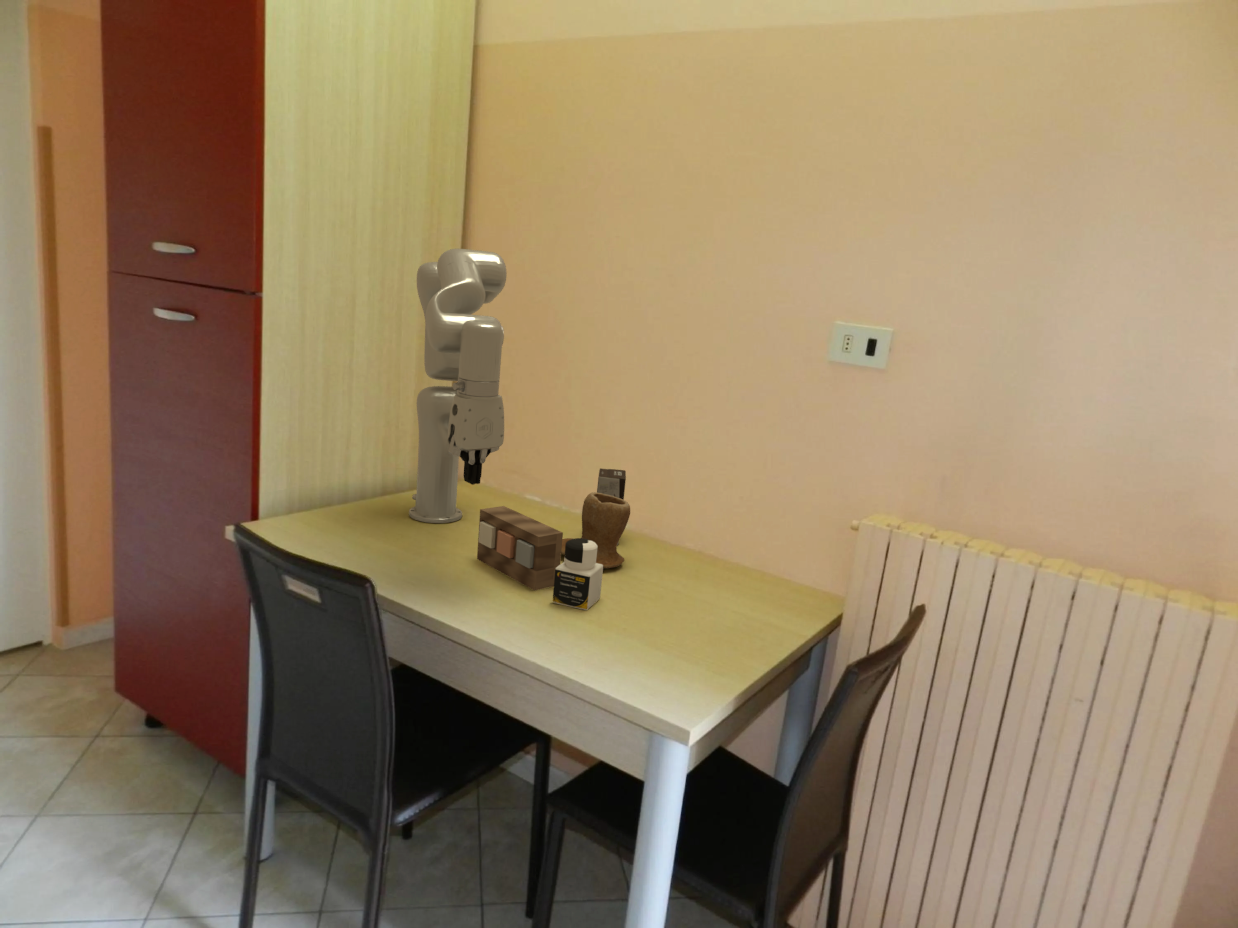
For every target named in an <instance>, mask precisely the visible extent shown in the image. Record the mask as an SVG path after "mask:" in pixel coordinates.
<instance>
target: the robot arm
mask: <svg viewBox="0 0 1238 928" xmlns="http://www.w3.org/2000/svg"><path fill="white" fill-rule="evenodd" d="M507 273H508V271H507V266H506V263H505V261H504V259H503V257H502V256H501V255H500V254H499V253H497V252H494V251H487V250H486V251H485V250H479V249H478V250H477V249H468V248H466V249H465V248H451V249H447V250H446V251H443V253H441V255H440V256H439V258H438V260H437V261H429V262H425V263H423V264H421V265H420V266H419V267H418V270H417V272H416V289H417V295H418V299H419V303H420V304H421V305H420V306H421V307H422V308H421V309H422V311H423V315H424V324H425V325H424V354H423V356H424V357H423V360H424V362H423V363H424V372H425V374H426V376H428V377H429V378H430V379H432V380H437V381H447V382H448V381H449V382H453V383H452V386H448V385H447V386H445V385H442V386H441V385H433V386H428V387H424V388H423V389H421V390H420V391H419V393H418V394H417V396H416V412H417V413H416V414H417V422H418V454H417V472H416V473H417V474H416V478H417V480H416V493H414V494H413V495H412V497H411V498H412V500H414V501H415V505H414V506H412V507H411V508H409V510H408V516H409V517H410V518H411V519H413V520H415V521H418V522H423V523H431V524H446V523H453V522H456V521H459V520H461V519H462V517H463V511H462V510H461V509H459V508H458V507H457V495H458V479H459V477H458V476H459V463H460V462H459V460H460V459H459V458H461V461H462V462H463V481H464V482H466V483H468V484H470V485H472V486H473V485H479V484H481V478H482V472H483V471H482V469H483V464H485V463H486V459H487V457H488V456H489V455H491V453H494V452H497V451H500V447H502V445H503V444H504V441H505V410H504V409H505V408H504V403H503V401H504V399H503V396H502V395H500V394H499V393H500V392H499V388H500V375H501V365H502V349H503V344H504V341H505V340H504V339H505V329H504V326H503V325H502V323H501V321H500V320H499V319H498V318H496V317H494V316H489V315H481V314H474V313H476V312H478V311H479V310H480V309H481V308H482V307H483V305H484V304H485V305H486V304H491V303H492V302H493V301H494V300H495V299H496V298H497V297H498V296H499V294H500V293H501V292H502V291H503V290H504V288H505V286H506V282H507Z"/></svg>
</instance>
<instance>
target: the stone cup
mask: <svg viewBox="0 0 1238 928" xmlns="http://www.w3.org/2000/svg"><path fill="white" fill-rule="evenodd" d="M581 510H582V511H581V537H580V538H584V539H588V540H591V541H593V542H595V543H596V544H597V546H598V547H597V558H596V563H598V564H602V565H603V569H612V568H617V567H619V566H621V565H622V564H623V563H624V562H625V558H624V557H623V556H622V555H621V554H619V552H618V551H617V549H618V548H617V546H618V545H617V543H618V541H619V542H620V539H621V537H622V535H623V533H624V532H625V530H626V528H627V524H628V522H629V519H630V516H631V505H630V503H628V501H627V500H625V499H624V500H623V499H620V498H617V497H614V496H611V495H607V494H602V493H597V491H596V492H594V491H593V492H590V493H589V494H587V496H586V497H585V498H584V501H583V504H582V509H581ZM571 539H574V538H572V537H571V538H570V537H566V538H562V550H561V555H563V556H565V545H566V542H567V541H569V540H571Z"/></svg>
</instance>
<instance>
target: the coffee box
mask: <svg viewBox="0 0 1238 928" xmlns="http://www.w3.org/2000/svg"><path fill="white" fill-rule="evenodd" d="M598 471H599V472H598V478H597V485H596V486H597V487H596V493H602V494H607V495H611V496H614V497H617V498H620V499H623V500H625V490H626V482H627V481H626V480H627V479H626V478H627V477H626V470H624V469H623V470H622V469H615V468H614V469H611V468H599V470H598ZM619 543H620V540H619V541H618V543H617V546H619Z"/></svg>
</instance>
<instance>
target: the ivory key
mask: <svg viewBox="0 0 1238 928" xmlns="http://www.w3.org/2000/svg"><path fill="white" fill-rule="evenodd" d="M478 535H479V543H481V544H483V545H485V546H487V547H489V548H495V537H496V526H494V525H492V524H490V523H488V522H486V521H483V522H480V527H479V526H478Z"/></svg>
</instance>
